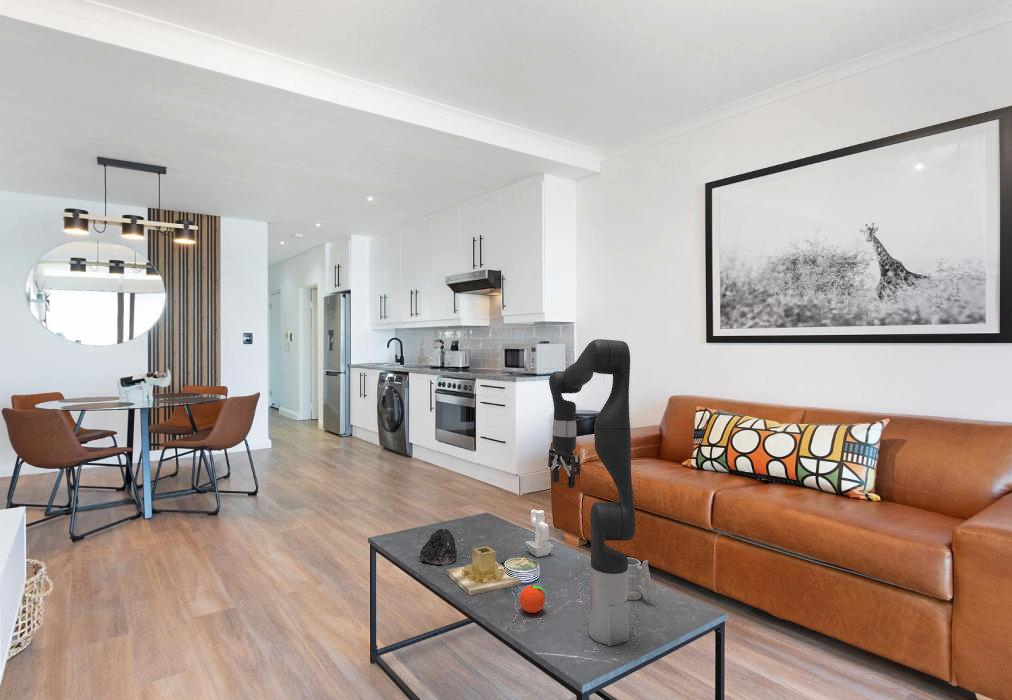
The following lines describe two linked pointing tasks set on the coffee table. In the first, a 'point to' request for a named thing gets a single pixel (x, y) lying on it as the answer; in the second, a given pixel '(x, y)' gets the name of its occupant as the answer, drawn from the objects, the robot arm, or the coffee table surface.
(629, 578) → the mug
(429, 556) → the black rock
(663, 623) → the coffee table surface
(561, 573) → the coffee table surface
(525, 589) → the clementine
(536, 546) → the figurine
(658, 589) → the coffee table surface
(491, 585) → the carrier plate
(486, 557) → the gear
